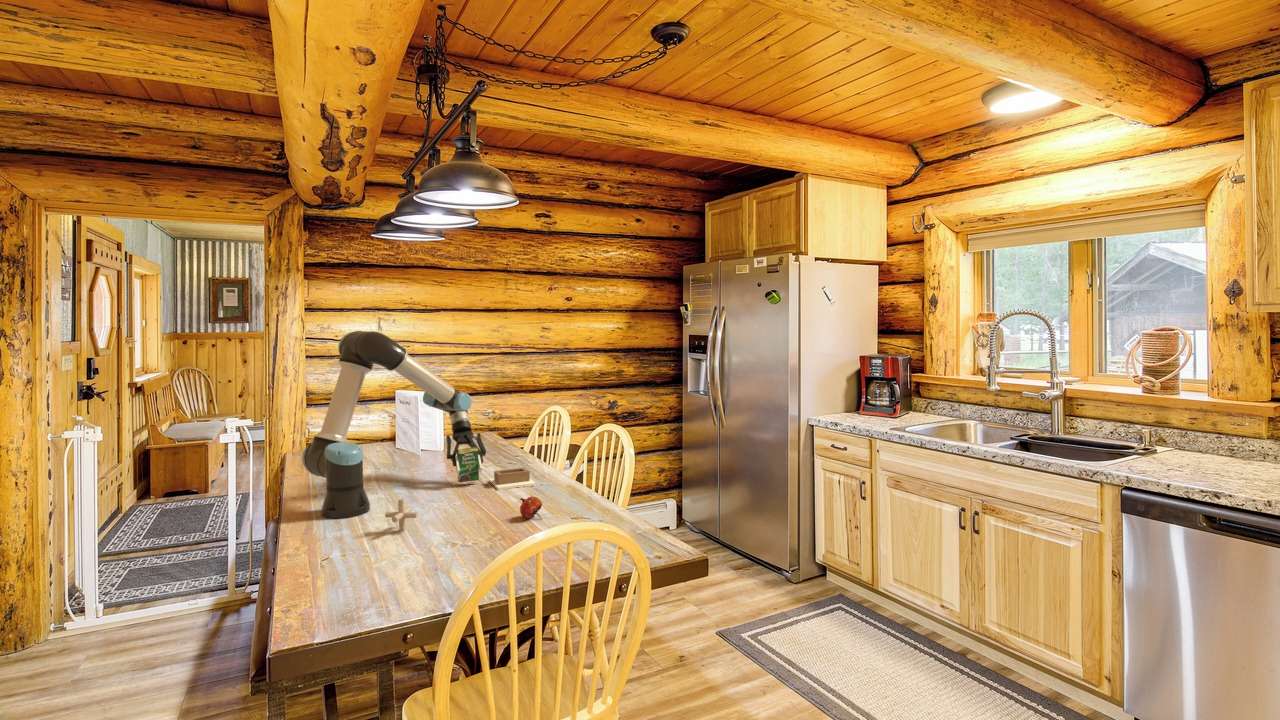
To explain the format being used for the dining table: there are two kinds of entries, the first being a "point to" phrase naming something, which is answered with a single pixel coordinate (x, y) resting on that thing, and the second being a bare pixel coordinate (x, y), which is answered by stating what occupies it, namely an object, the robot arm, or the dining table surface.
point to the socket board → (512, 478)
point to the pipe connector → (401, 514)
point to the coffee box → (468, 464)
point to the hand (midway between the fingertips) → (469, 471)
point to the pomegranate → (530, 507)
